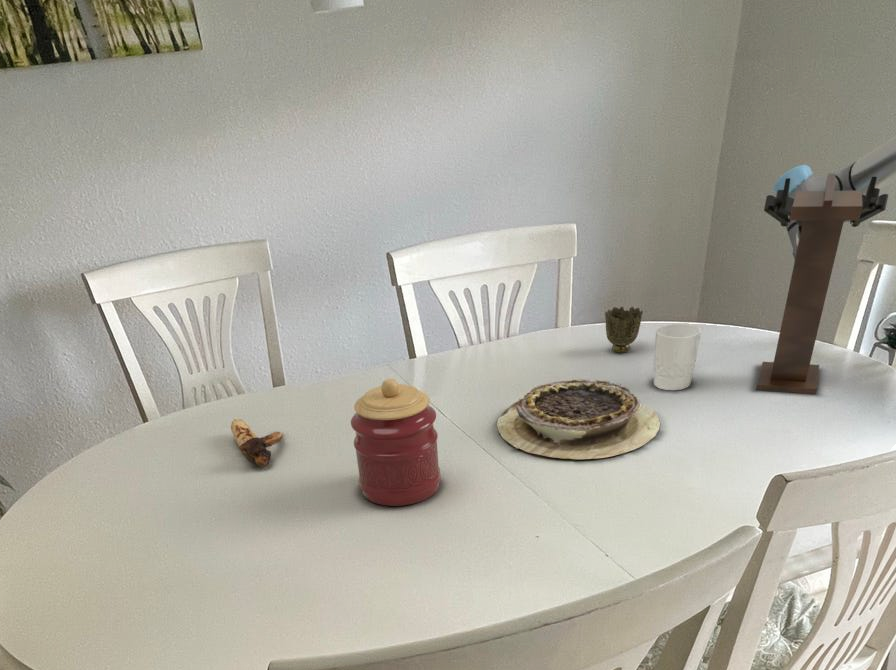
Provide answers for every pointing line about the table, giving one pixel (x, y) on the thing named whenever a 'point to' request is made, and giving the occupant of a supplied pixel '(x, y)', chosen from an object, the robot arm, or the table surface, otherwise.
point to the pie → (578, 420)
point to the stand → (808, 289)
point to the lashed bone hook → (254, 442)
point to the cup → (622, 327)
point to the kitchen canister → (396, 445)
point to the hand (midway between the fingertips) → (828, 185)
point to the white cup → (675, 355)
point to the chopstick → (829, 191)
